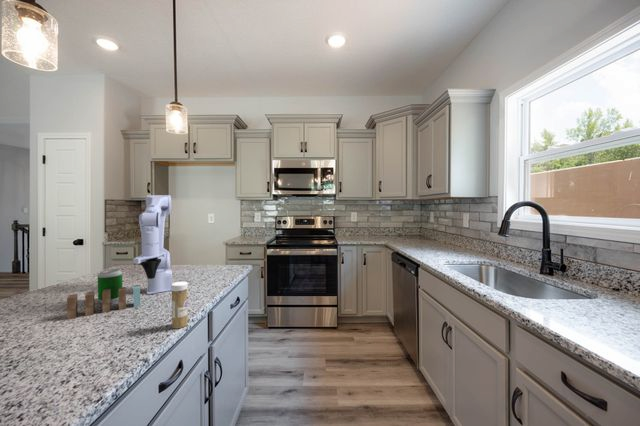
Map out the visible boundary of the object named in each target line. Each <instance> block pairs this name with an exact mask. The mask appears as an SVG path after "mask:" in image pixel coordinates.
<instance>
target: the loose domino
mask: <svg viewBox="0 0 640 426" xmlns="http://www.w3.org/2000/svg"><path fill="white" fill-rule="evenodd" d="M132 290H133V308H138V307H141V284H135V285H133V288H132Z"/></svg>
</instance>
